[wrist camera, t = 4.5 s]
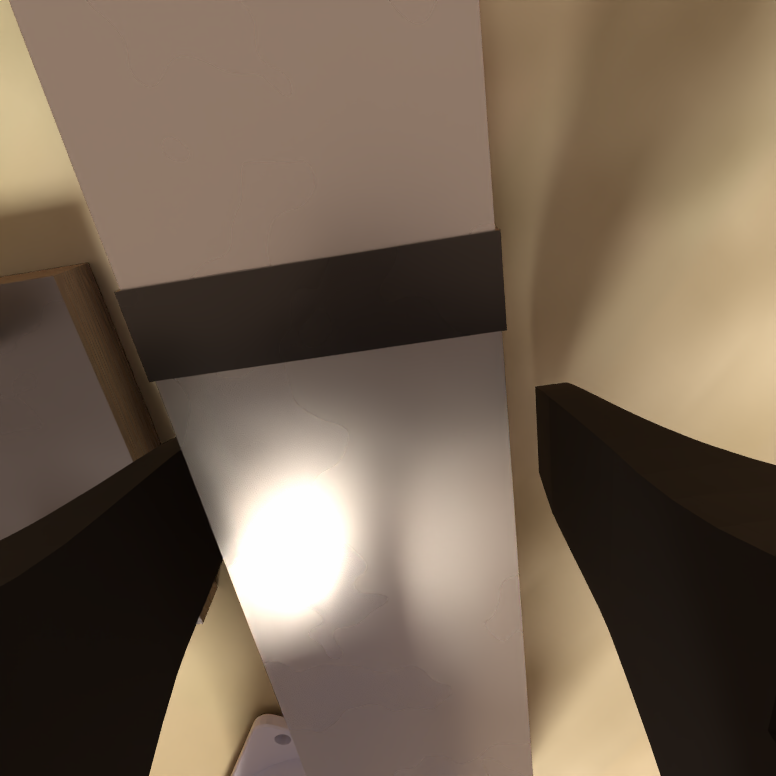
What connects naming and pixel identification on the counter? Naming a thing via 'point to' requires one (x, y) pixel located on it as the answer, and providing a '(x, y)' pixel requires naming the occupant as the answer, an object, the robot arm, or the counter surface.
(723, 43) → the counter surface
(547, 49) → the counter surface
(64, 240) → the counter surface
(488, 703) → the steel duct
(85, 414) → the grey peg board
